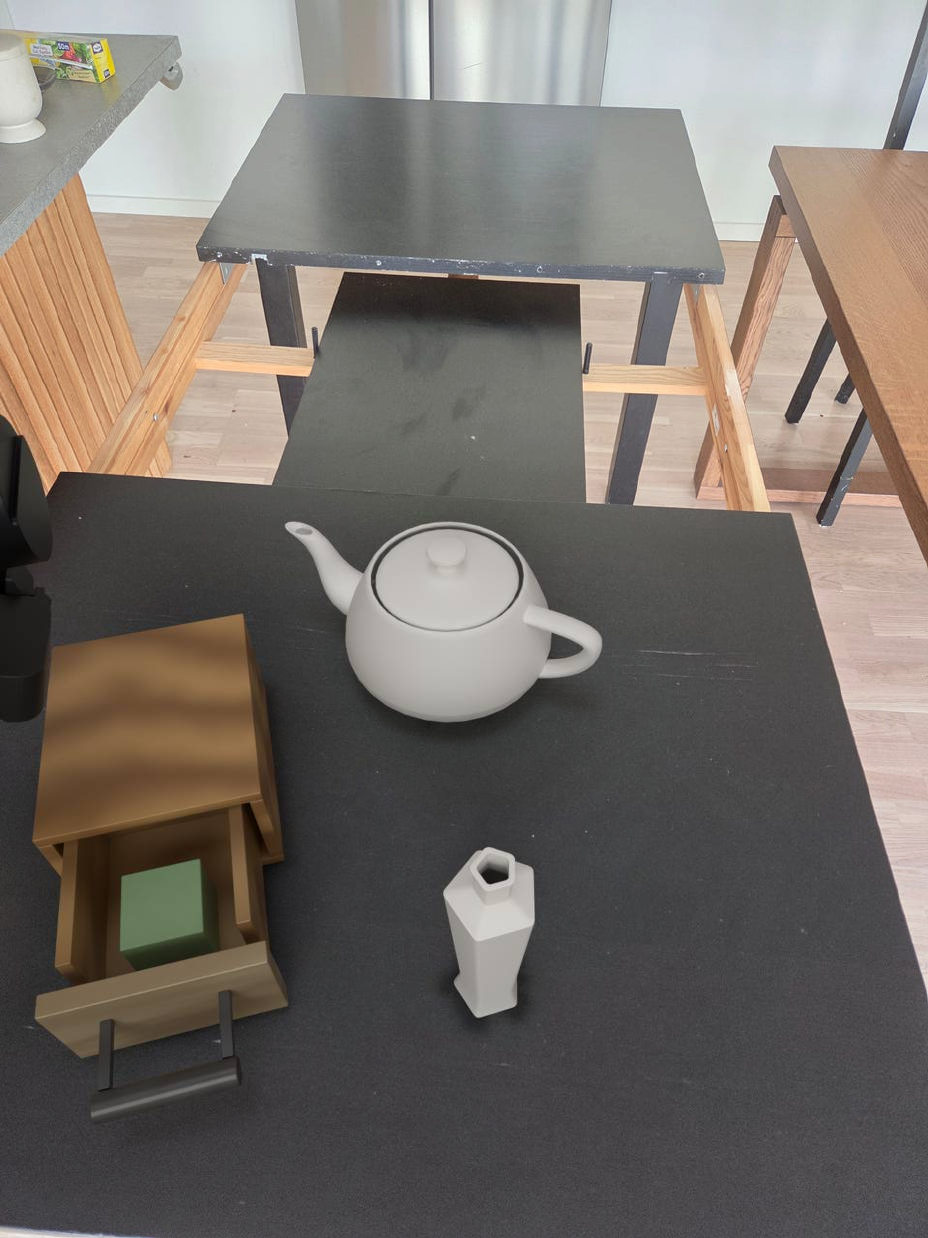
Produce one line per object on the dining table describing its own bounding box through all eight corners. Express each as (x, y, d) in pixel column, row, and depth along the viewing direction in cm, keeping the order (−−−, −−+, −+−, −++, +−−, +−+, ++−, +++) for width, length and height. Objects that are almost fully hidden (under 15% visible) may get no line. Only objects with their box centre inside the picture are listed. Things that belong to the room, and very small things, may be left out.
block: (142, 980, 48) (119, 951, 45) (143, 908, 51) (121, 875, 48) (221, 961, 49) (203, 931, 46) (217, 891, 52) (200, 857, 48)
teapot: (621, 638, 68) (644, 524, 59) (554, 793, 58) (570, 685, 49) (350, 552, 75) (333, 437, 66) (251, 678, 65) (216, 564, 56)
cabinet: (284, 861, 55) (260, 792, 49) (84, 906, 53) (31, 841, 47) (265, 689, 65) (242, 613, 58) (94, 722, 63) (52, 647, 56)
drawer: (298, 1095, 45) (276, 1059, 40) (75, 1156, 43) (24, 1126, 38) (267, 803, 57) (248, 747, 52) (92, 841, 55) (54, 786, 50)
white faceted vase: (449, 943, 51) (444, 822, 40) (521, 945, 51) (536, 824, 40) (446, 1023, 48) (439, 915, 37) (522, 1025, 48) (539, 919, 37)
